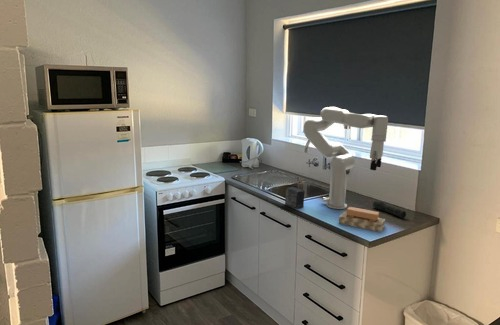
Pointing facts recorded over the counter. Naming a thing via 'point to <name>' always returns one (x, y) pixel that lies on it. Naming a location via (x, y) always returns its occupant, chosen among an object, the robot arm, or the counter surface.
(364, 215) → the tan wedge board
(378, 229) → the slotted tan block
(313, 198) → the counter surface
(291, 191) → the small box
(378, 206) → the flashlight
